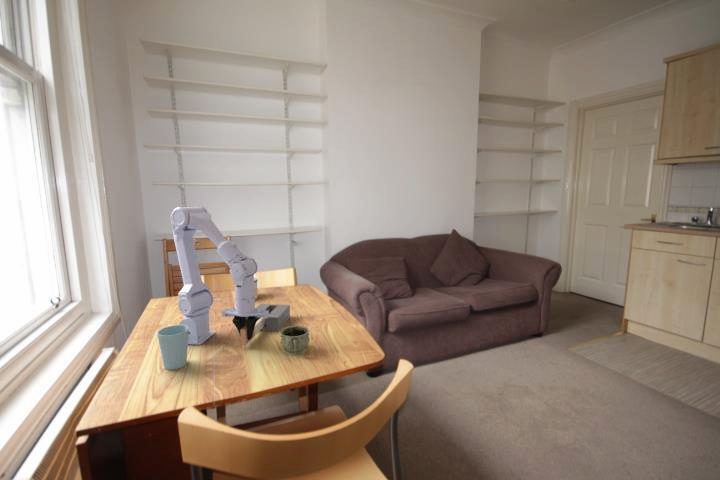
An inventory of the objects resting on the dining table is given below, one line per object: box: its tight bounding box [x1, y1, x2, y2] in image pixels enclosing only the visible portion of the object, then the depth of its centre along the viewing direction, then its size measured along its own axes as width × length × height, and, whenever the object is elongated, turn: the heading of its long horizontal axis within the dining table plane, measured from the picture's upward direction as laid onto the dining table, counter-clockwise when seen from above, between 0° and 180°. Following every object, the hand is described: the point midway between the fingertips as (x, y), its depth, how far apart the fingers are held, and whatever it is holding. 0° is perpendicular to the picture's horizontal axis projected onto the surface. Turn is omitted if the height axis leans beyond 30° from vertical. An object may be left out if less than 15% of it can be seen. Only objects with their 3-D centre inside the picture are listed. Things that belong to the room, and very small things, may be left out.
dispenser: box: [246, 303, 291, 332], centre depth 124 cm, size 14×12×6 cm
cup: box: [156, 324, 189, 371], centre depth 93 cm, size 8×8×10 cm
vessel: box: [280, 325, 310, 356], centre depth 103 cm, size 12×9×6 cm
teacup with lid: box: [254, 276, 259, 300], centre depth 153 cm, size 12×9×12 cm
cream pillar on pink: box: [239, 318, 266, 346], centre depth 113 cm, size 20×2×5 cm, turn 175°
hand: (246, 338), depth 105 cm, fingers closed on cream pillar on pink, 2 cm apart
